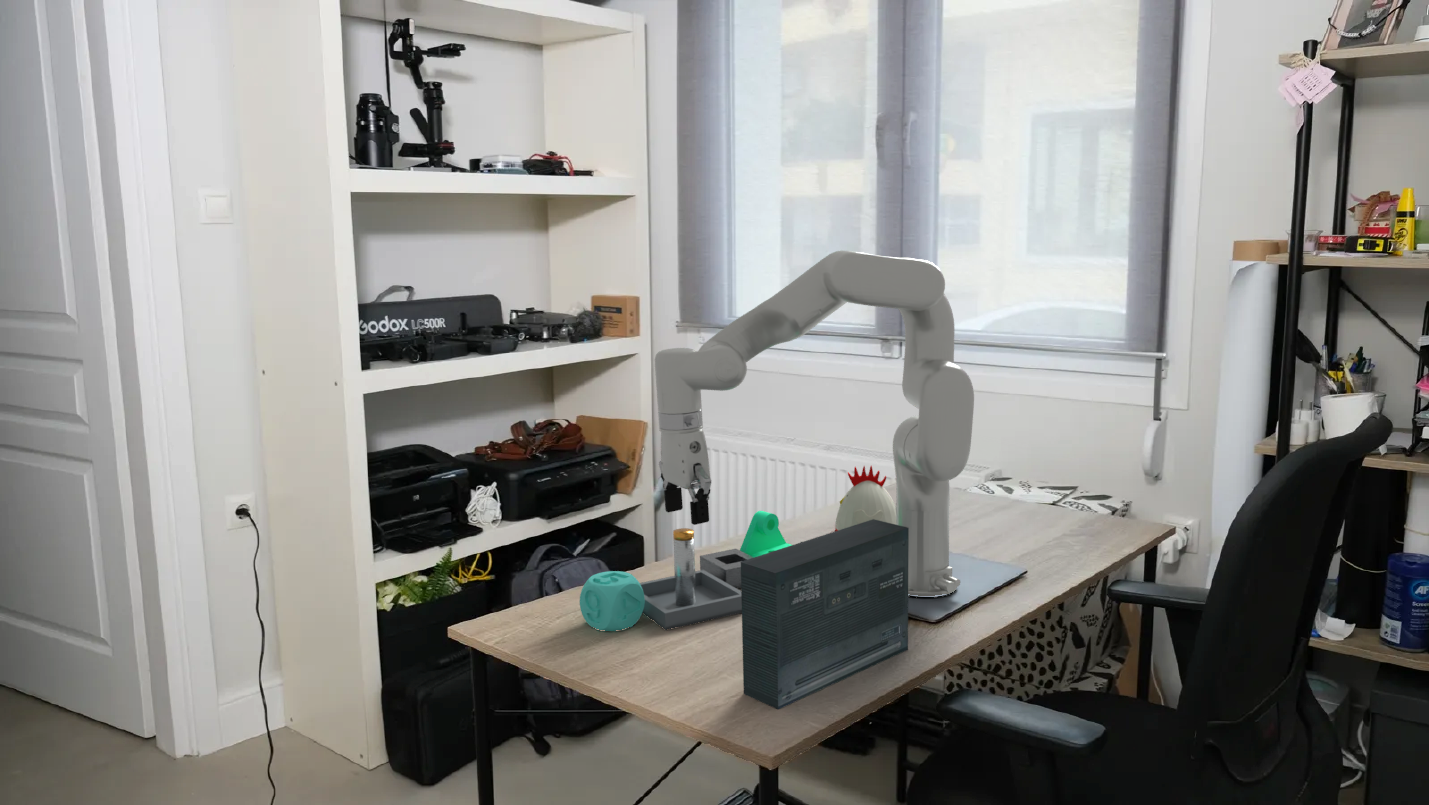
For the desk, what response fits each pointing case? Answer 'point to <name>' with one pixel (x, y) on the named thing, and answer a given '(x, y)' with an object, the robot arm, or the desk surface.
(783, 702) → the cassette player
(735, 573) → the block
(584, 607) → the decorative dice
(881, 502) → the kitchen timer
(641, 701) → the desk surface
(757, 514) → the green mounting bracket
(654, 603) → the tray
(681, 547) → the pin
